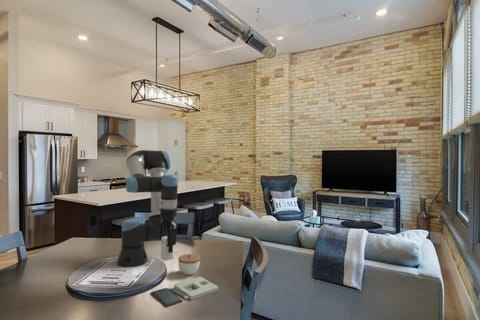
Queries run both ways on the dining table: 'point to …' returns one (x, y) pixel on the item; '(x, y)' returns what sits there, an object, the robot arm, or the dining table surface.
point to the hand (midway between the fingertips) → (166, 257)
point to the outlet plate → (199, 283)
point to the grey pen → (177, 293)
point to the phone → (166, 297)
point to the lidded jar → (189, 263)
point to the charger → (164, 248)
